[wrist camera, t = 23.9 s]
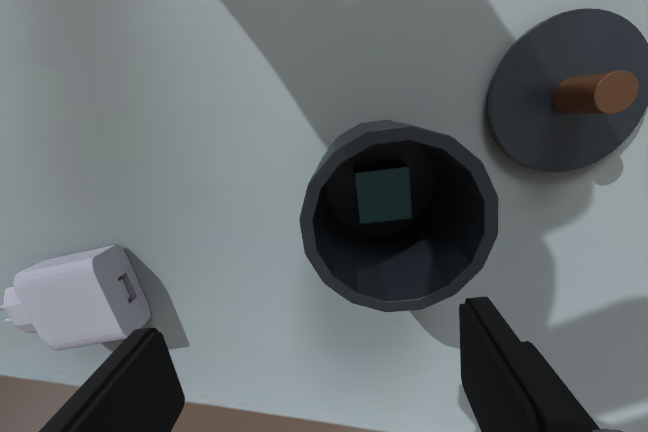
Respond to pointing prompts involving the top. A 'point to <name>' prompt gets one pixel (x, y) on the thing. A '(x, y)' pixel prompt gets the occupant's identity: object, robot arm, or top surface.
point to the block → (383, 191)
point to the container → (400, 235)
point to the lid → (569, 90)
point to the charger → (78, 299)
